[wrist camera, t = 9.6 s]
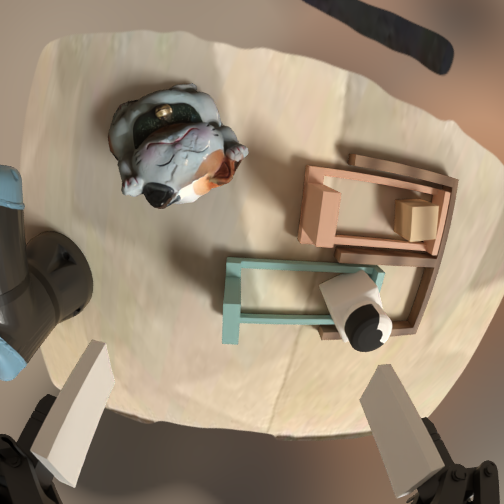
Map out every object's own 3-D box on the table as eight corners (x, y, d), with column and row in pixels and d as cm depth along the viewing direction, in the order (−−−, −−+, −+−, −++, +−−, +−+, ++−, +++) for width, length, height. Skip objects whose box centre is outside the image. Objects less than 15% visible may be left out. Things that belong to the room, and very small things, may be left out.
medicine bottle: (331, 317, 45) (354, 366, 33) (317, 283, 42) (341, 330, 31) (369, 299, 44) (401, 342, 33) (359, 264, 41) (394, 304, 30)
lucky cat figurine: (218, 77, 31) (260, 95, 22) (224, 157, 39) (261, 206, 30) (103, 101, 27) (84, 132, 18) (122, 181, 36) (122, 243, 26)
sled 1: (297, 238, 39) (312, 264, 31) (305, 165, 35) (325, 171, 27) (427, 248, 40) (458, 270, 32) (439, 189, 37) (475, 201, 28)
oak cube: (393, 231, 40) (410, 242, 35) (395, 199, 38) (412, 207, 33) (418, 229, 40) (435, 239, 35) (420, 198, 38) (438, 205, 33)
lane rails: (317, 330, 45) (321, 339, 43) (349, 153, 35) (356, 154, 33) (409, 326, 46) (415, 334, 44) (449, 177, 36) (458, 179, 34)
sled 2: (224, 317, 43) (221, 355, 35) (227, 257, 40) (223, 287, 31) (361, 319, 45) (382, 352, 36) (376, 264, 41) (404, 292, 33)
